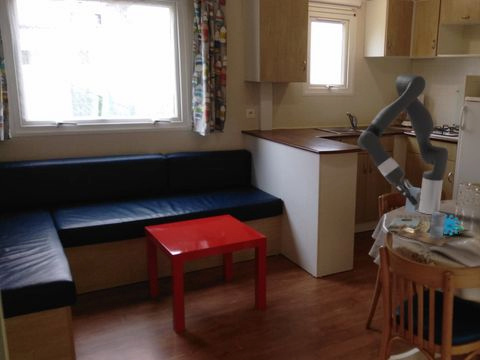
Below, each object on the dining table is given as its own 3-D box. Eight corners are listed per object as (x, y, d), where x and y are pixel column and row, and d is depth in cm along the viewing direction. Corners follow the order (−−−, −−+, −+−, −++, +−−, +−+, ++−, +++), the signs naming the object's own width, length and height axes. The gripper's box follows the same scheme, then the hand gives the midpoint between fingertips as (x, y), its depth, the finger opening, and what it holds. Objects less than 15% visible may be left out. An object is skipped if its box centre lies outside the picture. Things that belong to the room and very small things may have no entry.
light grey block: (408, 209, 188) (411, 186, 186) (418, 211, 186) (421, 188, 183) (404, 211, 186) (407, 188, 183) (414, 213, 183) (417, 190, 180)
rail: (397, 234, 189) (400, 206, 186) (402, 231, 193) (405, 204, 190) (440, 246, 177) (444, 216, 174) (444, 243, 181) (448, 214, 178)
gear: (432, 229, 191) (440, 210, 195) (431, 235, 196) (439, 216, 200) (459, 238, 186) (467, 218, 190) (458, 244, 191) (465, 224, 194)
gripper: (393, 168, 179) (421, 201, 176) (402, 162, 191) (428, 194, 187) (379, 178, 183) (406, 212, 180) (388, 172, 195) (414, 203, 192)
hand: (417, 202), depth 184 cm, fingers closed on light grey block, 4 cm apart
